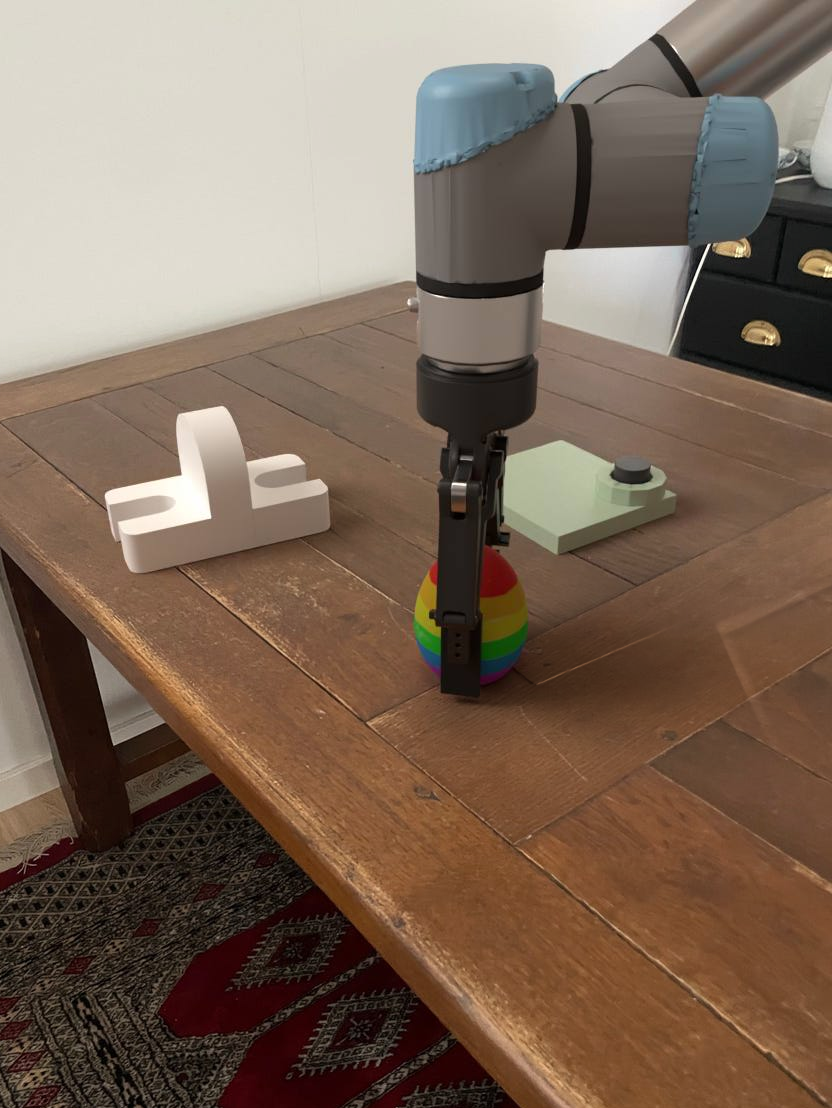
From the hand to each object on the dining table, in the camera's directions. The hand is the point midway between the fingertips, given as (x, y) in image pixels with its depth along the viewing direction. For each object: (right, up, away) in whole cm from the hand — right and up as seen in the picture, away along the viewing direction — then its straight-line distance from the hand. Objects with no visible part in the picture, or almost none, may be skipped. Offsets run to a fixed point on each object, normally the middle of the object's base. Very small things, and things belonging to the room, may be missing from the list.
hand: (469, 656), depth 75 cm
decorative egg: (0, -1, +1) cm, 1 cm away
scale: (+11, +14, +22) cm, 29 cm away
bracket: (-21, +12, +21) cm, 32 cm away
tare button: (+17, +16, +18) cm, 30 cm away
